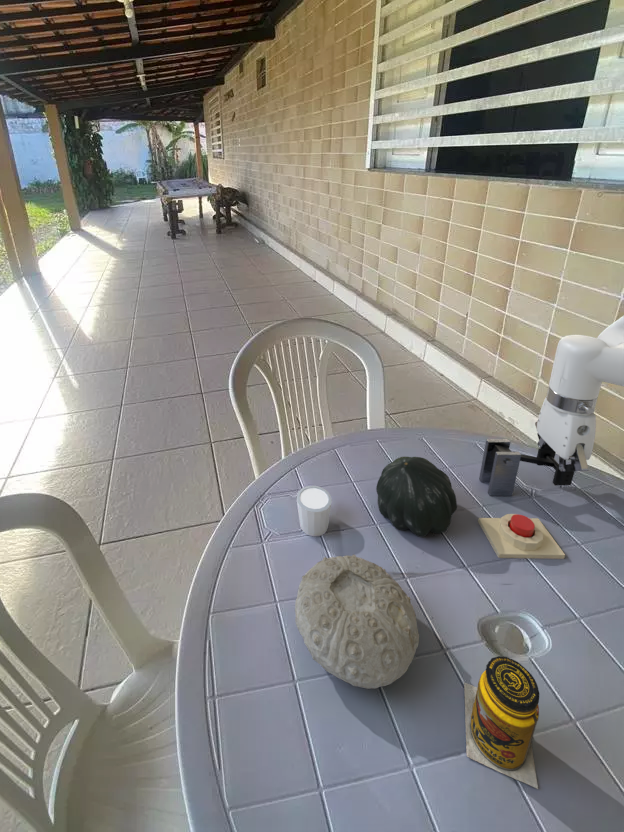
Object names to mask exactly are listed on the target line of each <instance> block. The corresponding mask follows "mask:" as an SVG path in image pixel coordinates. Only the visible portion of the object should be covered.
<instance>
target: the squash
mask: <svg viewBox="0 0 624 832" xmlns="http://www.w3.org/2000/svg"><path fill="white" fill-rule="evenodd" d="M375 490H376V493H377V507H378V512H379V513H380V515H381V516H383V517H384V518H386V519H388V520H389V522H390V523H391V524H392V527H394V528H395V529H397V530H399V531H401V530H402V531H404V530H405V531H406V530H410V532H411V533H412V534H414V535H415V536H417V537H420V538H424V537H426V536H427V535H428V534H429V533H430V532H431V533H434V534H438V535H439V534H442V533H444V532H445V531H447V530H448V528H449V527H450V525H451V522H452V517H453V515H454V513H455V512H456V510H457V509H458V502H457V497H456V493H455V491H454V489H453V485H452V482H451V480H450V477H449V476H448V474H446V472H444V471H443V470H442V469H439V468H438V467H437V466H436V465H435V464H434V463H432V462H431V461H430V460H428V459H427V458H424V457H421V456H400V457H398V458H396V459H394V460H392V461H391V462H389V463H387V464H386V465H385V466H384V467H383V469H382V471H381V475H380V476H379V478H378V480H377V483H376V487H375Z"/></svg>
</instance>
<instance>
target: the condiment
mask: <svg viewBox="0 0 624 832" xmlns="http://www.w3.org/2000/svg"><path fill="white" fill-rule="evenodd" d="M463 687H464V688H463V689H464V720H465V721H464V722H465V724H464V725H465V743H466V744H465V749H466V751H465V753H466V757H467V758H469V759H471V760H473V761H475V762H477V763H480V764H482V765H483V766H486V767H487V768H490V769H492V770H494V771H496V772H497V773H501V774H503V775H505V776H507V777H510V778H512V779H514V780H516V781H519V782H522V783H524V784H526V785H527V786H528V785H529V786H530V787H532V788H534V789H536V790H539V786H538V780H537V778H538V777H537V772H536V764H535V759H534V751H533V744H532V739H533V737H534V733H535V730H536V727H537V724H538V721H539V717H540V708H539V703H540V690H539V686H538V683H537V681H536V679H535V677H534V676H533V674H532V673H530V671H529V670H528V669H527V668H526V667H525V666H523V665H522V664H521V663H520V662H518V661H517V660H515V659H512V658H510V657H508V656H501V655H498V656H494V657H492V658H490V660H489V661H488V662H487V664H486V667H485V670H484V671H482V673H481V674H480V677H479V680H478V683H477V686H474V685H472V684H470V683H467V682H463Z"/></svg>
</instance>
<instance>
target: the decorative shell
mask: <svg viewBox="0 0 624 832" xmlns="http://www.w3.org/2000/svg"><path fill="white" fill-rule="evenodd" d="M411 599H412V598H411V597H410V596H408V595H407V593H406V592H405V590H404V589H403V588H402V587H401V585H400V584H399V582H397V581H396V580H395V579H394V578H393V577H392V576H391V575H390V574H389V573H388V572H387V571H386V569H385V568H383V567H382V566H379V565H378V564H376V563H375V562H371V561H369V560H367V559H364V558H362V557H358V556H357V555H356V554H352V555H343V556H342V555H338V556H335V557H334V556H331V557H326V556H324V557H323V558H322V560H320V561H317V562H316V564H314V565H313V566H312V567H311V568H309V570H308V571H307V572H305V574H304V575H303V576H302V577H301V581H300V583H299V586H298V589H297V596H296V599H295V603H294V613H295V619H294V622H295V626H296V628H297V630H298V632H299V634H300V635H301V637H302V639H303V643H304V645H305V646H306V648H307V650H308V652H309V655H310V656H311V657H312V660H313V661H314V662H316V663H318V665H320V666H321V667H322V668H323V669H324V670H325V671H326V672H327V673H329V674H330V675H332V676H334V677H336V678H338V679H340V680H342V681H343V682H345V683H347V684H350V685H351V686H353V687H357V688H364V689H367V690H369V689H373V690H374V689H375V690H376V689H378V688H381V687H386V686H389V685H392V684H393V683H394V682H396V681H397V680H399V679H400V678H402V677H403V676H404V675H405V673H406V672H407V671H408V670H409V667H410V665H411V664H412V662H413V660H414V658H415V655H416V651H417V649H418V647H419V643H420V634H419V630H418V624H417V616H416V611H415V608H414V606H413V603H412V602H411Z"/></svg>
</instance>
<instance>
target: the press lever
mask: <svg viewBox="0 0 624 832" xmlns="http://www.w3.org/2000/svg"><path fill="white" fill-rule="evenodd" d="M496 452H513V451H512V450H511V449H510V447H509V448H508V447H504V446H499V445H495V446H494V448H493V450H492V452H491V455H492V457H493V458H495V453H496ZM520 454H521V458H520V462H524V463H529V464H534V465H537V464H539V465H543V466H544V467H549V468H553V469H554V471H555V470H556V468H557V467H559V461H557V460H556V459H555V457H554V458H553V457H552V456H551V455H550V454H548V453H547V454H545V455H544V458H545V459H544V458H538V457H537V456H533V455H529V454H528V455H527V454H522V453H520ZM539 465H538V466H539Z"/></svg>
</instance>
